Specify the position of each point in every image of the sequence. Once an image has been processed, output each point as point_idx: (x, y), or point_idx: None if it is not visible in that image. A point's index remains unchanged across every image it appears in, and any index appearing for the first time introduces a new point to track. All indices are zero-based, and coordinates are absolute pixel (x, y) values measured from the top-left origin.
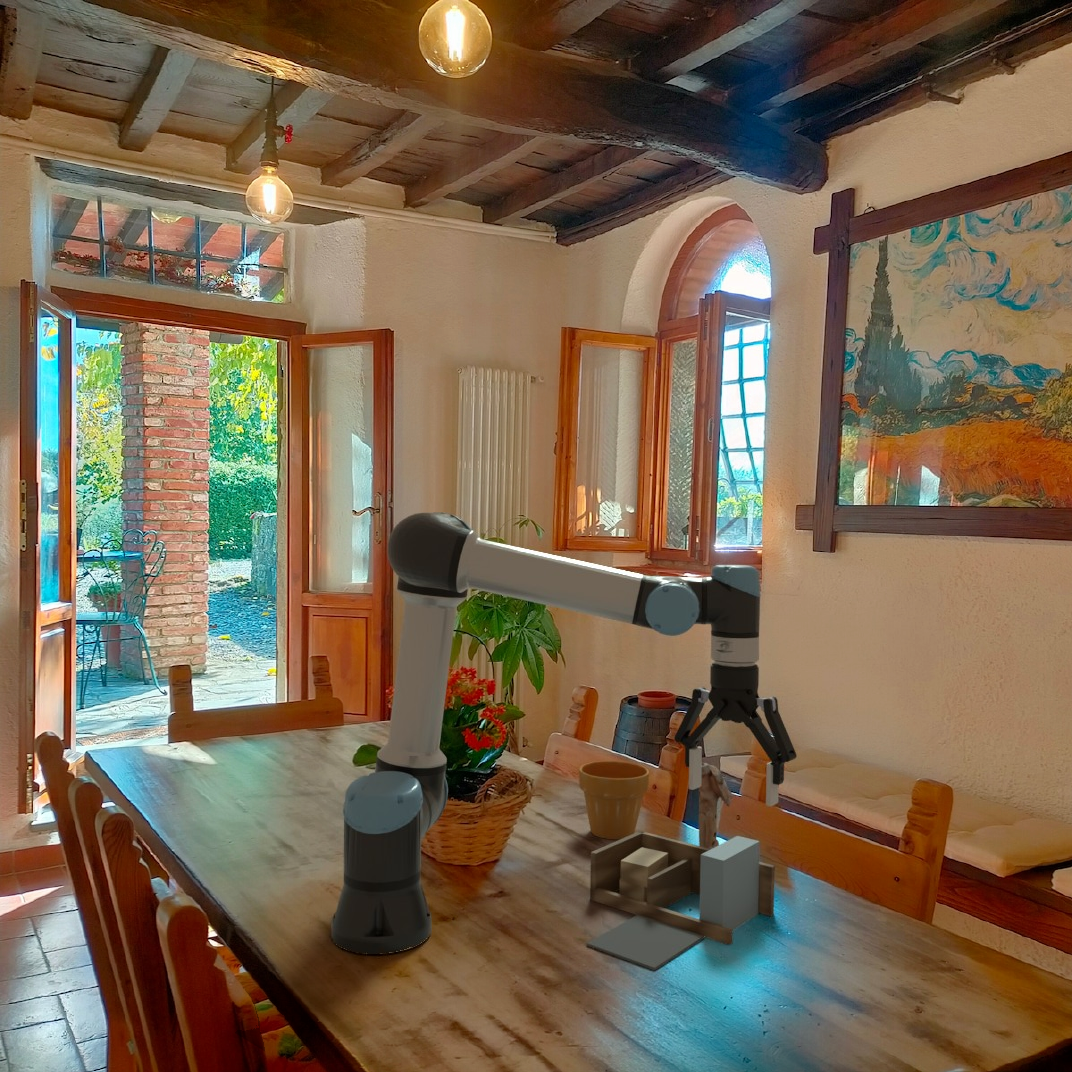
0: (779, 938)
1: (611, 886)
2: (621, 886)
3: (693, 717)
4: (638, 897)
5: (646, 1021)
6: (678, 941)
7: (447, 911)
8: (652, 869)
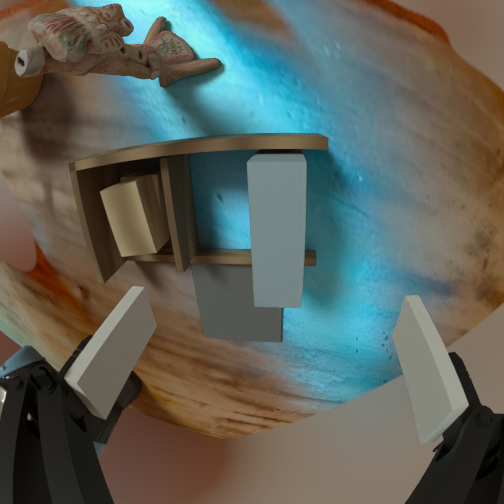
0: (356, 202)
1: None
2: None
3: (43, 497)
4: None
5: (315, 386)
6: None
7: None
8: (155, 233)
